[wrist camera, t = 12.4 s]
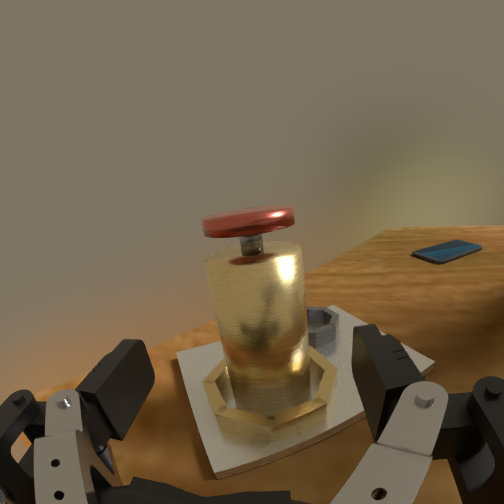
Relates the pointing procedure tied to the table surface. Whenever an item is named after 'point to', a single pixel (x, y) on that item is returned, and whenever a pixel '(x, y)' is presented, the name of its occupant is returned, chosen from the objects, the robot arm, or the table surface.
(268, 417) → the fitting plate
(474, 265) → the table surface
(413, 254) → the smartphone
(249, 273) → the brass valve
